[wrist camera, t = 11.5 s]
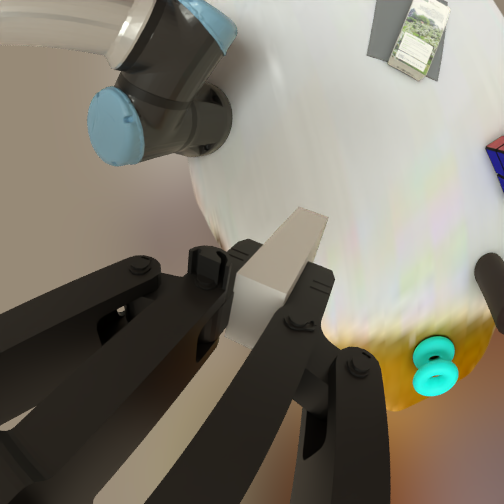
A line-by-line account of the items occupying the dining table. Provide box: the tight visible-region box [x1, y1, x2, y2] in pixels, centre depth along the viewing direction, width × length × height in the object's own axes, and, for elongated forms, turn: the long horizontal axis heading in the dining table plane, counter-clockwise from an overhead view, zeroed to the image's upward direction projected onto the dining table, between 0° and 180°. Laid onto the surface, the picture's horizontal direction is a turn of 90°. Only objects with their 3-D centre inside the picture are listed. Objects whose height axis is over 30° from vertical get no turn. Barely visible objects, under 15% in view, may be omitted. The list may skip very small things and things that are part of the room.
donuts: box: [413, 336, 458, 396], centre depth 45 cm, size 10×10×10 cm
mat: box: [367, 0, 448, 81], centre depth 27 cm, size 12×17×1 cm
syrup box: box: [388, 0, 451, 81], centre depth 25 cm, size 6×6×14 cm
